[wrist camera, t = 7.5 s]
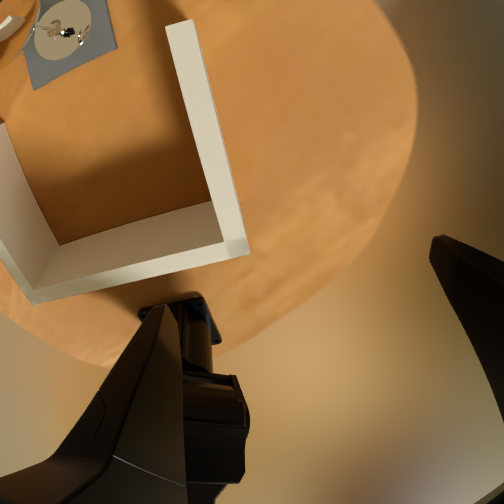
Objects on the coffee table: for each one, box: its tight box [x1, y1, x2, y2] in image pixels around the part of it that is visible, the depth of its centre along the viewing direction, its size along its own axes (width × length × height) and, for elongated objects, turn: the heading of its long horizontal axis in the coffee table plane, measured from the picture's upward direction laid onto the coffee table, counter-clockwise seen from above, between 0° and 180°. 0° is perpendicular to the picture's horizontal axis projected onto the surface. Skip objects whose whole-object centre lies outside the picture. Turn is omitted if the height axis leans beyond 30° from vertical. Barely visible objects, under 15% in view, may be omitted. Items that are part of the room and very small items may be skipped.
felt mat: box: [23, 0, 118, 91], centre depth 11 cm, size 6×6×1 cm
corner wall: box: [0, 19, 250, 305], centre depth 15 cm, size 13×16×6 cm
